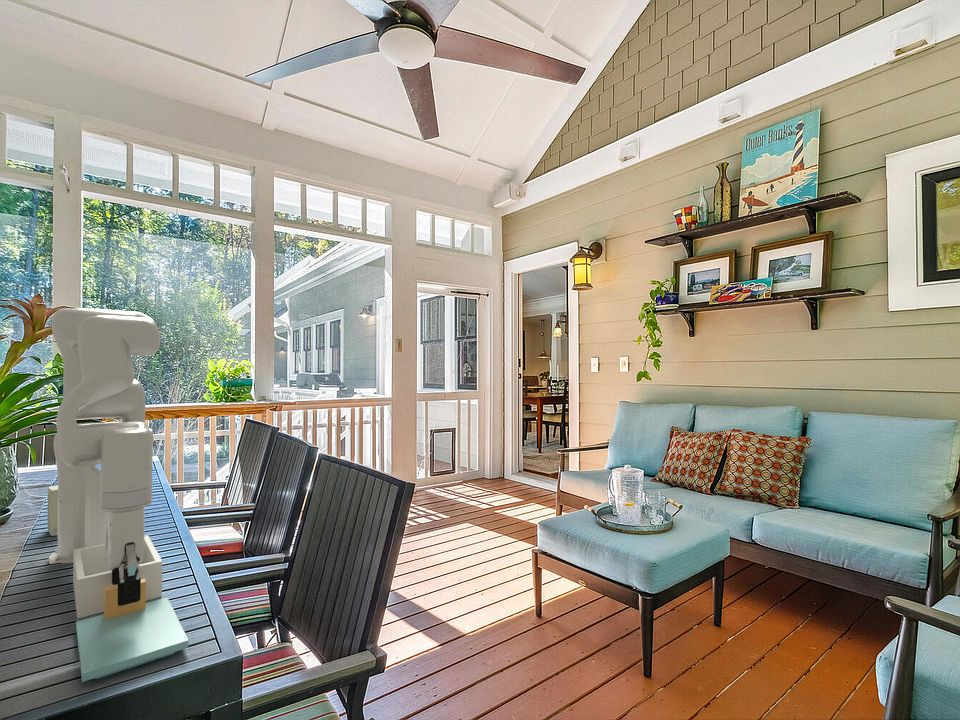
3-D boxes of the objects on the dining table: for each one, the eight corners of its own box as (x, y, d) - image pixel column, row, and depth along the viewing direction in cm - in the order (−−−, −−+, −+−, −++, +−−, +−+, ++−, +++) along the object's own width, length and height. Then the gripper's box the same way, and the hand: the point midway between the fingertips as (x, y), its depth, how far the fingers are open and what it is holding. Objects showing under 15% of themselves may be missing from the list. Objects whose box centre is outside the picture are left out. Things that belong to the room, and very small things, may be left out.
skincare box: (72, 532, 135) (72, 487, 134) (51, 537, 131) (51, 490, 131) (67, 527, 139) (67, 483, 139) (46, 531, 136) (47, 486, 136)
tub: (73, 587, 104) (73, 549, 104) (147, 570, 112) (148, 535, 112) (77, 624, 90) (77, 579, 90) (161, 601, 99) (162, 561, 99)
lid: (76, 636, 87) (76, 592, 87) (167, 611, 96) (167, 571, 96) (81, 692, 73) (82, 639, 73) (188, 656, 82) (188, 609, 82)
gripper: (96, 490, 93) (95, 581, 94) (104, 514, 80) (103, 619, 81) (144, 483, 98) (143, 570, 99) (159, 505, 85) (158, 604, 86)
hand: (125, 592), depth 90 cm, fingers open, 9 cm apart
